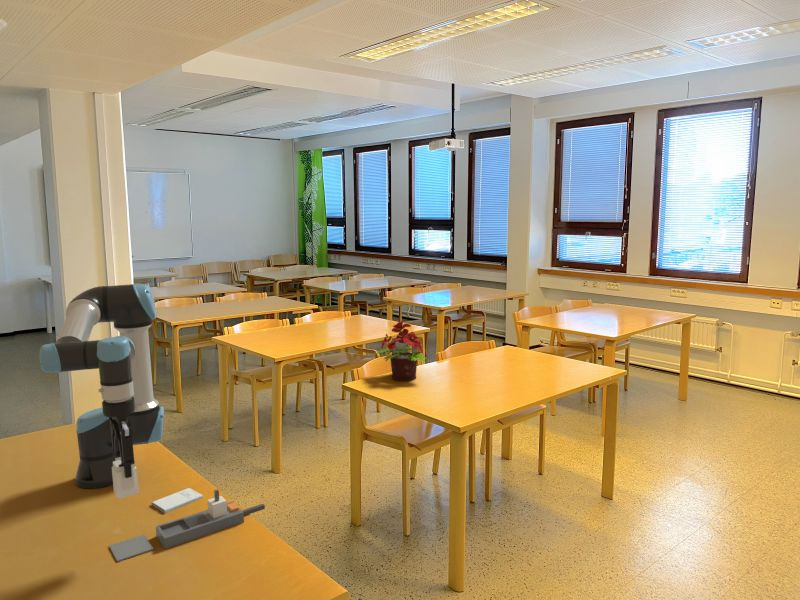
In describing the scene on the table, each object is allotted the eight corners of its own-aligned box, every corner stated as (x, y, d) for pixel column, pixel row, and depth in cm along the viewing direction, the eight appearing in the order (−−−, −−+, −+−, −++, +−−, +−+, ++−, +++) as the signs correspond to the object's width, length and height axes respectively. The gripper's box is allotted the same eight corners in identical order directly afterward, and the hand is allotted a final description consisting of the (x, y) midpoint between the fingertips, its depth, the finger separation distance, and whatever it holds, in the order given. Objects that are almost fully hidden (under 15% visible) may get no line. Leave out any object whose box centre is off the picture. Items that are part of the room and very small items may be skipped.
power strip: (165, 549, 161) (162, 513, 159) (156, 536, 167) (153, 502, 166) (269, 513, 179) (268, 481, 177) (258, 503, 185) (256, 472, 184)
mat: (109, 546, 162) (109, 545, 162) (144, 535, 168) (144, 534, 168) (117, 562, 155) (117, 560, 155) (153, 549, 161) (153, 548, 161)
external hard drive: (151, 506, 185) (189, 491, 194) (165, 515, 180) (203, 499, 189) (151, 501, 185) (188, 486, 194) (165, 510, 179) (202, 494, 189)
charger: (113, 492, 160) (111, 461, 158) (134, 486, 163) (131, 456, 161) (118, 499, 156) (115, 467, 154) (139, 493, 159) (136, 462, 157)
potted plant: (429, 371, 327) (428, 316, 323) (426, 386, 301) (426, 327, 296) (374, 371, 330) (373, 316, 325) (367, 385, 304) (366, 326, 299)
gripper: (94, 392, 160) (102, 476, 164) (110, 410, 146) (118, 501, 149) (124, 387, 164) (132, 468, 168) (143, 404, 150) (150, 492, 154)
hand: (125, 484), depth 159 cm, fingers closed on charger, 5 cm apart
